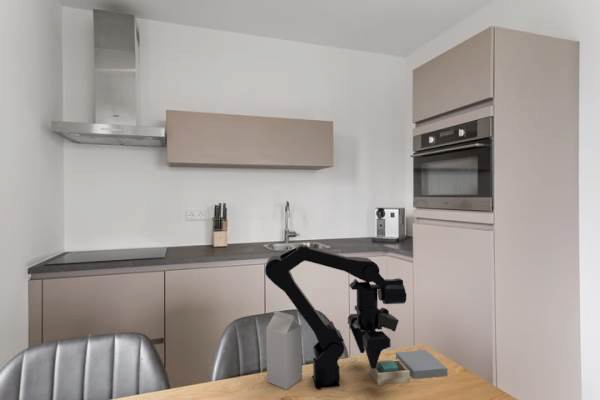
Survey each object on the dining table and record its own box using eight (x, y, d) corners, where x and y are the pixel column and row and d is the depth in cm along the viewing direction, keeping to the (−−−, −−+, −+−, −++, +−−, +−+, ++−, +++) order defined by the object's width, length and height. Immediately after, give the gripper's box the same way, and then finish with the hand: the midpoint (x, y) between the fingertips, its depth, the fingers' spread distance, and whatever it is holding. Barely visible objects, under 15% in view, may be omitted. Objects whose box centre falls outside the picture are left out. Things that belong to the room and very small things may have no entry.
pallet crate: (378, 389, 92) (377, 374, 92) (369, 375, 99) (369, 361, 99) (409, 385, 94) (409, 371, 94) (398, 372, 100) (398, 359, 100)
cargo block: (384, 381, 94) (384, 368, 94) (379, 374, 98) (378, 361, 98) (398, 379, 95) (398, 367, 95) (392, 372, 99) (392, 360, 99)
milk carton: (286, 390, 91) (285, 319, 91) (266, 382, 96) (265, 314, 96) (302, 379, 97) (301, 312, 97) (283, 371, 101) (282, 307, 101)
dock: (414, 380, 95) (413, 371, 95) (396, 360, 107) (395, 352, 107) (447, 377, 97) (447, 368, 97) (426, 357, 109) (425, 349, 109)
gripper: (409, 313, 87) (410, 374, 87) (382, 293, 106) (382, 344, 106) (367, 316, 86) (368, 378, 86) (347, 295, 104) (347, 346, 104)
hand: (367, 360), depth 96 cm, fingers open, 9 cm apart
